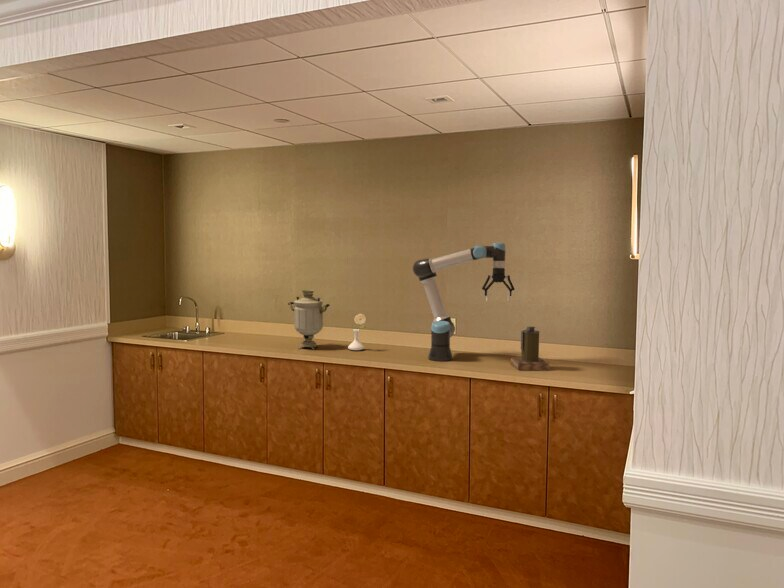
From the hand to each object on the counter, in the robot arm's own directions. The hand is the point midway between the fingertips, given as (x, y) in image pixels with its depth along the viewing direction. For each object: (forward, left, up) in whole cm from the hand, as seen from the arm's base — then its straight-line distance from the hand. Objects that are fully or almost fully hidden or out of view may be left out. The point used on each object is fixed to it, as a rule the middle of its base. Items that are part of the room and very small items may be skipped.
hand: (497, 301), depth 380 cm
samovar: (-121, +41, -37) cm, 133 cm away
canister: (+14, -27, -33) cm, 45 cm away
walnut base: (+14, -27, -36) cm, 47 cm away
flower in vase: (-89, +30, -37) cm, 101 cm away
